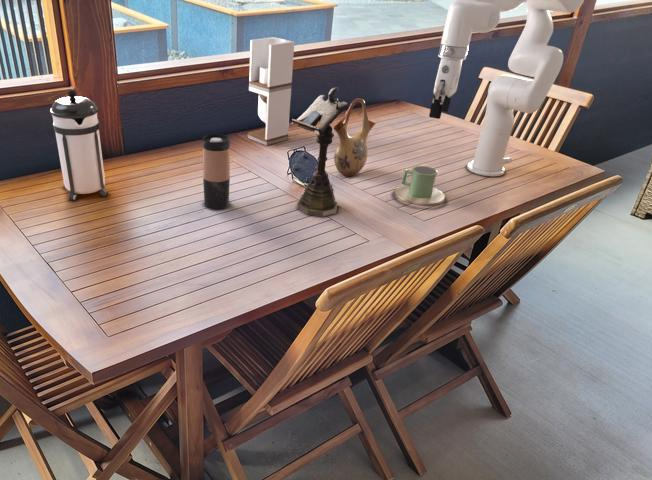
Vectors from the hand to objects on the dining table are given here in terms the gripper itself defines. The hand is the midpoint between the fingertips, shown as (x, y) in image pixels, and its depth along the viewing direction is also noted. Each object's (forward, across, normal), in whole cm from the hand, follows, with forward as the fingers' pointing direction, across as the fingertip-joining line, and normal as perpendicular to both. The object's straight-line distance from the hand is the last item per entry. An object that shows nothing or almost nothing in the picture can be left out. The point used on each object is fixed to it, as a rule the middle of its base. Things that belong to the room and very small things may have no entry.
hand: (438, 114), depth 168 cm
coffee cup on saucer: (+24, -4, -1) cm, 24 cm away
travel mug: (+27, -43, +50) cm, 71 cm away
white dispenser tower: (+25, +19, +65) cm, 72 cm away
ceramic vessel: (+25, +2, +25) cm, 36 cm away
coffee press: (+28, -56, +89) cm, 109 cm away
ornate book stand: (+26, -31, +24) cm, 47 cm away
